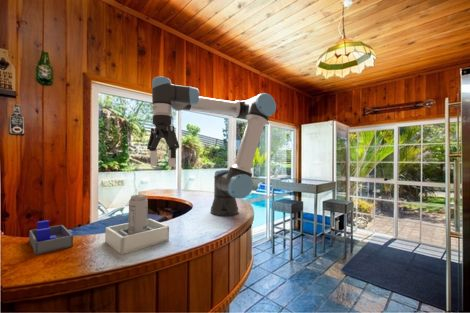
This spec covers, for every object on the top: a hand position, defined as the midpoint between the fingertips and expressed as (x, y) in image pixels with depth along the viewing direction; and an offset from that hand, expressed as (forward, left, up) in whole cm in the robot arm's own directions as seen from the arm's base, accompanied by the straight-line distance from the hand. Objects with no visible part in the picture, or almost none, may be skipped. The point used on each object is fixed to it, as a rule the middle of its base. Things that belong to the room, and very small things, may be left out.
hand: (162, 166), depth 92 cm
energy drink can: (+14, +8, -25) cm, 30 cm away
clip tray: (+35, -10, -26) cm, 44 cm away
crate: (+14, +8, -26) cm, 30 cm away
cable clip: (+36, -10, -25) cm, 45 cm away
